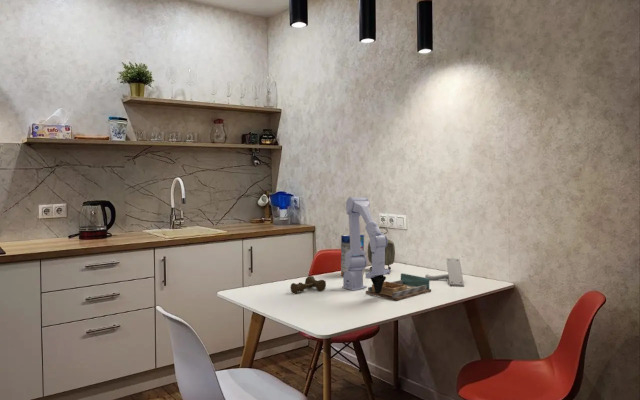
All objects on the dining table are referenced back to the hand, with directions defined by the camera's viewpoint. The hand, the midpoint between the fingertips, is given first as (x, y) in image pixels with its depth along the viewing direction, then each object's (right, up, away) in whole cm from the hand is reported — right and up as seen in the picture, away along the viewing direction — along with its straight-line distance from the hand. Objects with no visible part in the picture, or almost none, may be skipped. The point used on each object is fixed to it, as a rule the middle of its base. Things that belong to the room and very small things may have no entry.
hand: (377, 292), depth 213 cm
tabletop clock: (+9, 0, +62) cm, 63 cm away
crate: (+6, -1, +5) cm, 8 cm away
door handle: (+38, -2, +33) cm, 50 cm away
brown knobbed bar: (-31, -2, +13) cm, 33 cm away
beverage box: (-8, 0, +48) cm, 49 cm away
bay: (+11, -2, +10) cm, 15 cm away
